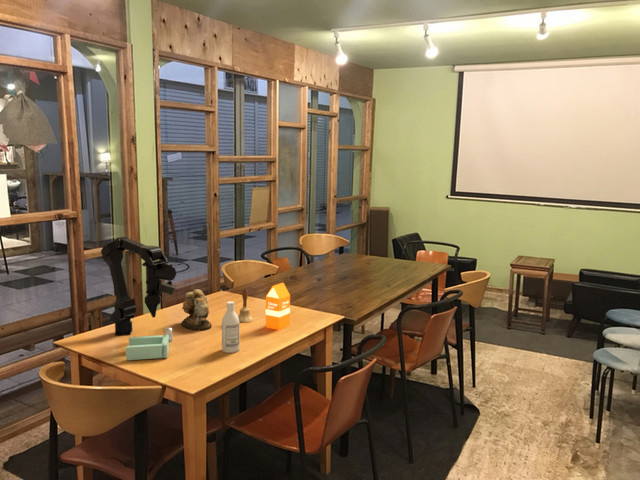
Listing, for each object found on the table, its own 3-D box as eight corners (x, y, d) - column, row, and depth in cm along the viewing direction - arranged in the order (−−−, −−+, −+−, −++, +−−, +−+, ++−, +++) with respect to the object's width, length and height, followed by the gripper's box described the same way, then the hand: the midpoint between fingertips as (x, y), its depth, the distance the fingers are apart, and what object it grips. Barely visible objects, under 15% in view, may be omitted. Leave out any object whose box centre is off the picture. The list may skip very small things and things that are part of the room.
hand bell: (256, 318, 255) (256, 286, 253) (249, 323, 247) (249, 290, 245) (240, 316, 257) (240, 285, 255) (233, 321, 250) (232, 288, 247)
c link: (168, 346, 214) (168, 334, 213) (167, 357, 202) (167, 345, 202) (129, 349, 210) (129, 337, 210) (126, 360, 199) (125, 347, 198)
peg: (165, 342, 220) (164, 329, 219) (165, 339, 223) (164, 327, 222) (172, 341, 221) (172, 329, 220) (172, 339, 224) (172, 326, 223)
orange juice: (290, 325, 246) (290, 283, 243) (279, 330, 239) (279, 287, 236) (276, 322, 250) (276, 281, 247) (265, 327, 243) (265, 284, 240)
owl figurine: (173, 324, 244) (172, 288, 242) (194, 319, 253) (194, 284, 251) (196, 332, 233) (196, 295, 230) (218, 327, 241) (217, 290, 239)
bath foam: (242, 350, 213) (242, 302, 210) (229, 354, 208) (228, 305, 205) (232, 345, 217) (232, 299, 214) (218, 350, 212) (218, 302, 209)
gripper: (173, 281, 209) (174, 319, 212) (174, 271, 227) (174, 306, 229) (143, 283, 206) (145, 321, 209) (146, 272, 224) (148, 308, 227)
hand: (154, 314), depth 219 cm, fingers open, 9 cm apart
